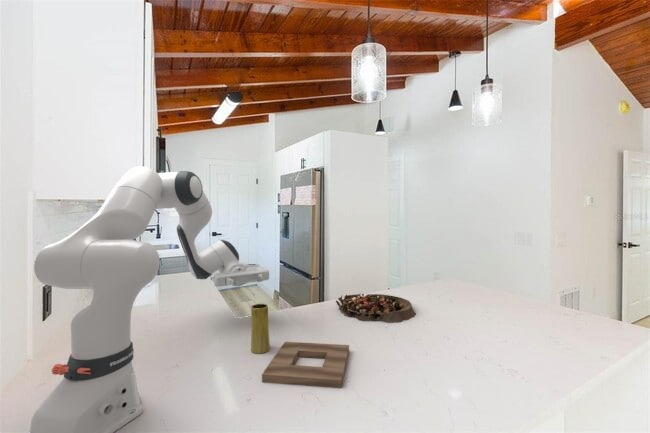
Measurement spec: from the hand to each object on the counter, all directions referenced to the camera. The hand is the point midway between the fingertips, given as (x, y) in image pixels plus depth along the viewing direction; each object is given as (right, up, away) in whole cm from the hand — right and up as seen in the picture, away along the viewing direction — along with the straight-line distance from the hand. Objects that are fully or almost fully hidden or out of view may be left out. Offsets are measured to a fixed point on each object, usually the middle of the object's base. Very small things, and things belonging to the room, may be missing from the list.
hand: (247, 281), depth 114 cm
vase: (+7, -20, -10) cm, 24 cm away
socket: (+23, -20, -21) cm, 37 cm away
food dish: (+49, -19, +28) cm, 60 cm away
